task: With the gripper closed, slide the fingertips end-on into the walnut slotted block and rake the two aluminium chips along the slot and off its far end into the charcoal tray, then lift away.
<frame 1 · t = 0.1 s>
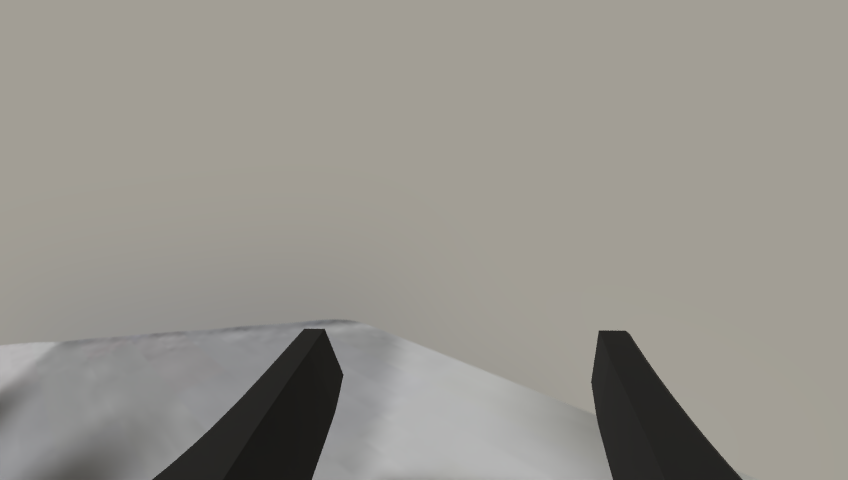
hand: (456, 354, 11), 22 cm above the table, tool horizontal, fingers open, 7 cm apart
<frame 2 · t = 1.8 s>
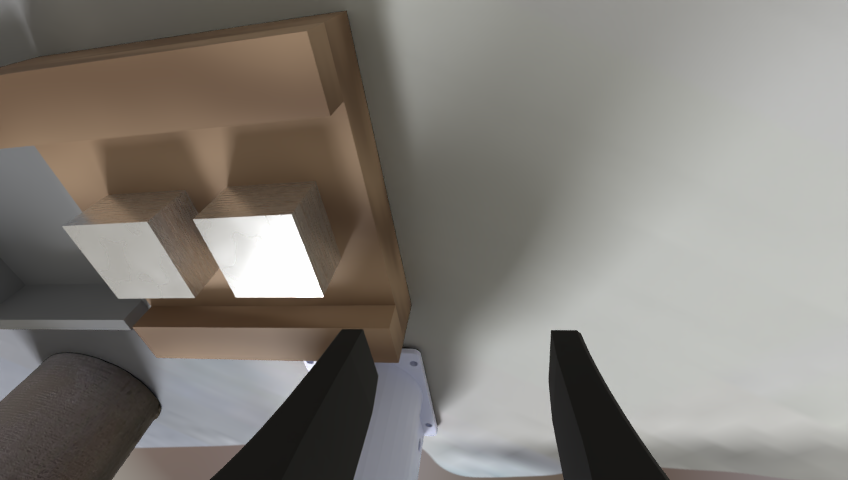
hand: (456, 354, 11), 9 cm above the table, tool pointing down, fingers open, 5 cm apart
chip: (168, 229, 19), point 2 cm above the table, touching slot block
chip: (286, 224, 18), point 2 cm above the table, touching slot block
slot block: (251, 198, 21), on the table
tray: (43, 211, 23), on the table
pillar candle: (104, 386, 35), on the table
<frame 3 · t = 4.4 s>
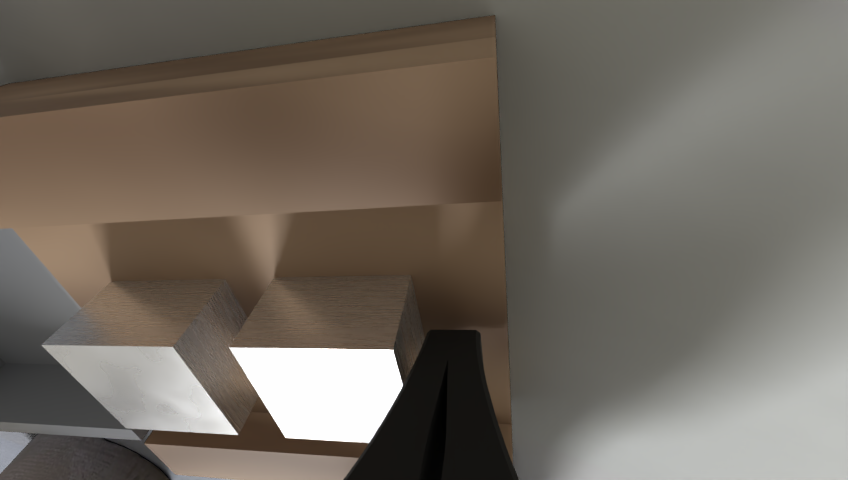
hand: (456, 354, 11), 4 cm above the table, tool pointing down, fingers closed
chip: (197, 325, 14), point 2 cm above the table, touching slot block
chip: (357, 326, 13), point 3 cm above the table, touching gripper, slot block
slot block: (308, 273, 15), on the table
tray: (24, 280, 18), on the table
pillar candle: (106, 462, 29), on the table
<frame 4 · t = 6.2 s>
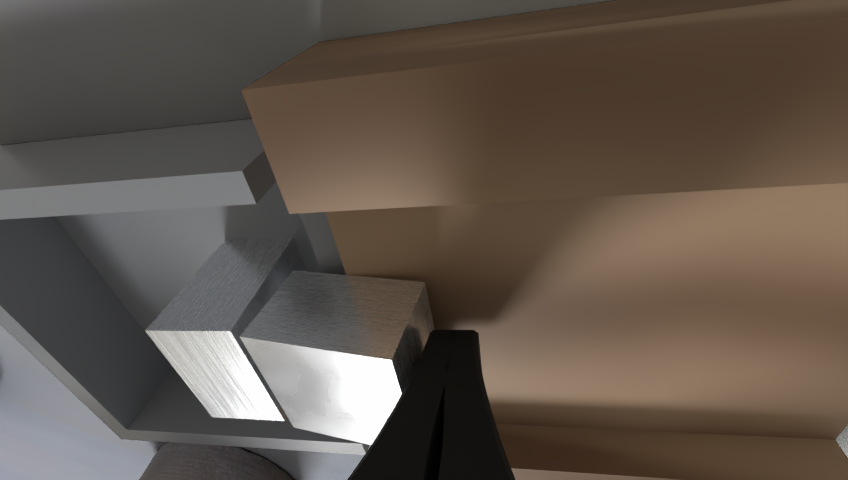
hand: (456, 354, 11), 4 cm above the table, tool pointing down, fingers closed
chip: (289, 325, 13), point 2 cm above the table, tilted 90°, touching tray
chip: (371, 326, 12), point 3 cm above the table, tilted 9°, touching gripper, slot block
slot block: (592, 267, 13), on the table
tray: (229, 276, 16), on the table
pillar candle: (230, 472, 27), on the table
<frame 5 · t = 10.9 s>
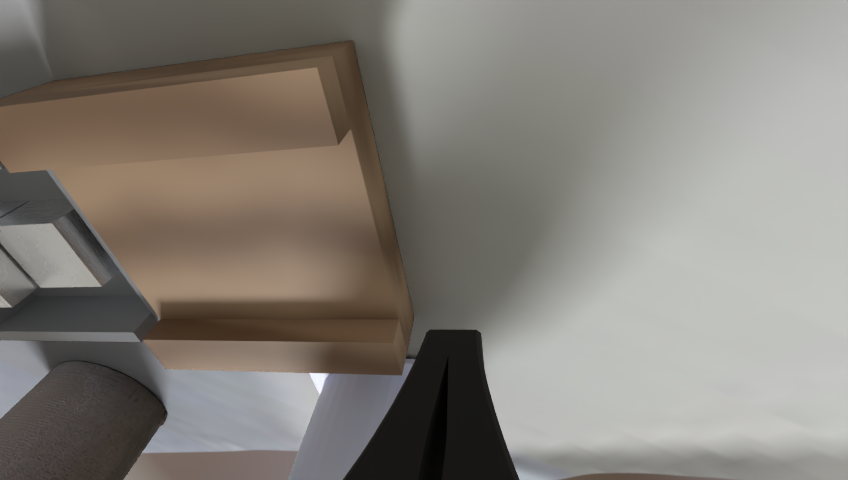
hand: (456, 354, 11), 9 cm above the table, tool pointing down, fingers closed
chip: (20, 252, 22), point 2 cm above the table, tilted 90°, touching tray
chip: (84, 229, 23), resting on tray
slot block: (259, 215, 21), on the table
tray: (54, 226, 24), on the table
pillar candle: (111, 393, 35), on the table
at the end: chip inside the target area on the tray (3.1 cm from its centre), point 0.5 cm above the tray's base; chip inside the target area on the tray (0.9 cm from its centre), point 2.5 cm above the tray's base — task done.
